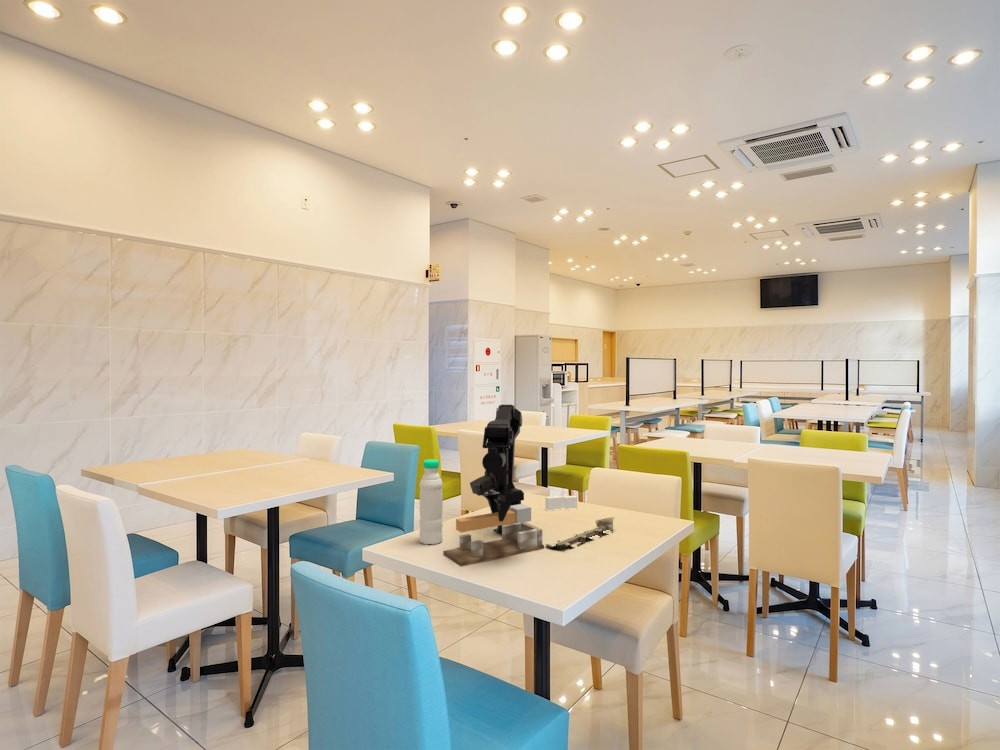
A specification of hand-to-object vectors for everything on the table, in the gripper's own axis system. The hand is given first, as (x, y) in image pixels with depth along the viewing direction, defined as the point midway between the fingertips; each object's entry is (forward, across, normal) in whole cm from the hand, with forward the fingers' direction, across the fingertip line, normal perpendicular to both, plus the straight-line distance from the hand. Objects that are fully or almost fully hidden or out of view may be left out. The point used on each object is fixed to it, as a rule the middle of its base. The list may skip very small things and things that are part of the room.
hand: (498, 519), depth 158 cm
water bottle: (+9, -18, -13) cm, 24 cm away
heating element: (+10, +4, +28) cm, 30 cm away
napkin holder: (+10, -26, +45) cm, 53 cm away
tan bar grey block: (+1, 0, -2) cm, 2 cm away
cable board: (+9, 0, -2) cm, 9 cm away
